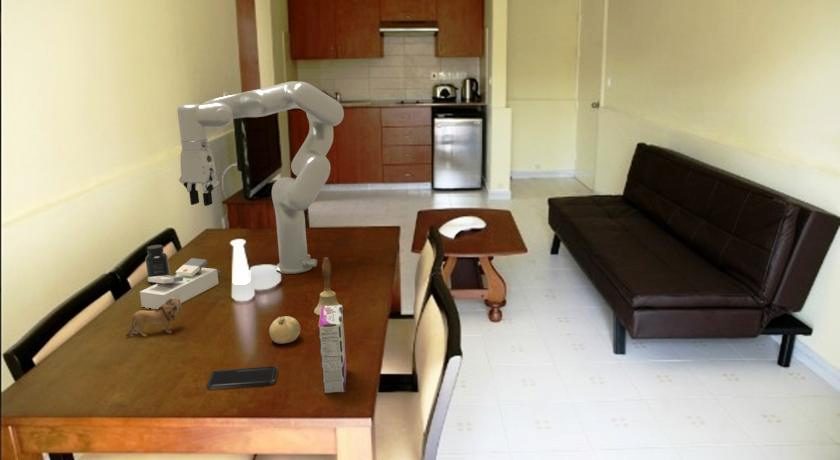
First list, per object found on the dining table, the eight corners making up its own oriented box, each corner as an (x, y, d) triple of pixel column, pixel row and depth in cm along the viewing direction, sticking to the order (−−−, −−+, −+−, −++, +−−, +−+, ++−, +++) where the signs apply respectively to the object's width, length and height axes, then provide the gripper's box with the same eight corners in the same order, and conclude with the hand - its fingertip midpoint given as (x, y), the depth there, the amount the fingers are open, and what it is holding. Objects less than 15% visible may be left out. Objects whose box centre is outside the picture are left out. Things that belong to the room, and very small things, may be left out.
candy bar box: (325, 370, 153) (321, 305, 148) (347, 369, 153) (343, 303, 149) (322, 394, 142) (317, 325, 138) (345, 393, 142) (341, 323, 138)
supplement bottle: (174, 278, 219) (170, 243, 215) (164, 285, 212) (160, 249, 209) (155, 277, 219) (150, 243, 216) (144, 284, 213) (139, 249, 210)
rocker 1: (182, 282, 198) (183, 276, 198) (163, 285, 191) (164, 278, 191) (167, 280, 201) (167, 274, 200) (147, 283, 193) (148, 276, 193)
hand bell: (326, 303, 193) (322, 252, 189) (348, 308, 189) (345, 256, 185) (308, 313, 186) (304, 260, 182) (331, 318, 182) (327, 264, 178)
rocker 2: (208, 264, 209) (206, 259, 208) (192, 278, 202) (190, 272, 201) (193, 262, 211) (191, 257, 210) (177, 276, 204) (175, 270, 204)
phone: (274, 382, 146) (205, 386, 145) (274, 386, 147) (206, 391, 145) (278, 365, 154) (213, 370, 153) (278, 370, 154) (213, 374, 153)
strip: (230, 277, 217) (228, 261, 216) (166, 311, 190) (163, 292, 189) (208, 275, 221) (206, 258, 219) (142, 307, 194) (139, 289, 192)
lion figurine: (183, 323, 181) (179, 293, 179) (185, 330, 177) (181, 299, 174) (125, 334, 175) (120, 303, 173) (126, 342, 171) (121, 310, 168)
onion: (267, 337, 172) (265, 312, 170) (297, 332, 174) (295, 307, 172) (273, 349, 164) (270, 323, 162) (304, 343, 167) (302, 318, 165)
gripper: (225, 144, 198) (231, 203, 203) (181, 143, 204) (188, 200, 209) (209, 148, 191) (216, 209, 196) (163, 146, 197) (171, 205, 202)
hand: (201, 203), depth 202 cm, fingers open, 4 cm apart
